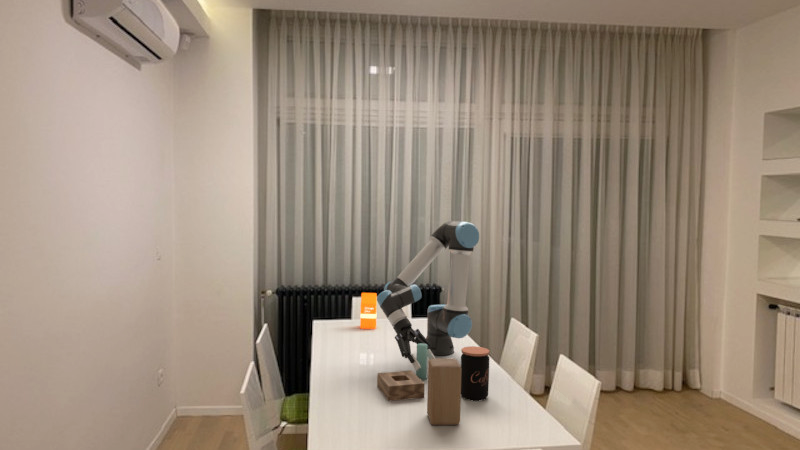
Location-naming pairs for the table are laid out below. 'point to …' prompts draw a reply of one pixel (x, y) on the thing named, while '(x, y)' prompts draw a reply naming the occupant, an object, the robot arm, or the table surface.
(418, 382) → the socket block
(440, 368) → the wooden block
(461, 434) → the table surface
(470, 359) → the coffee jar
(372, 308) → the orange juice
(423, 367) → the pin
